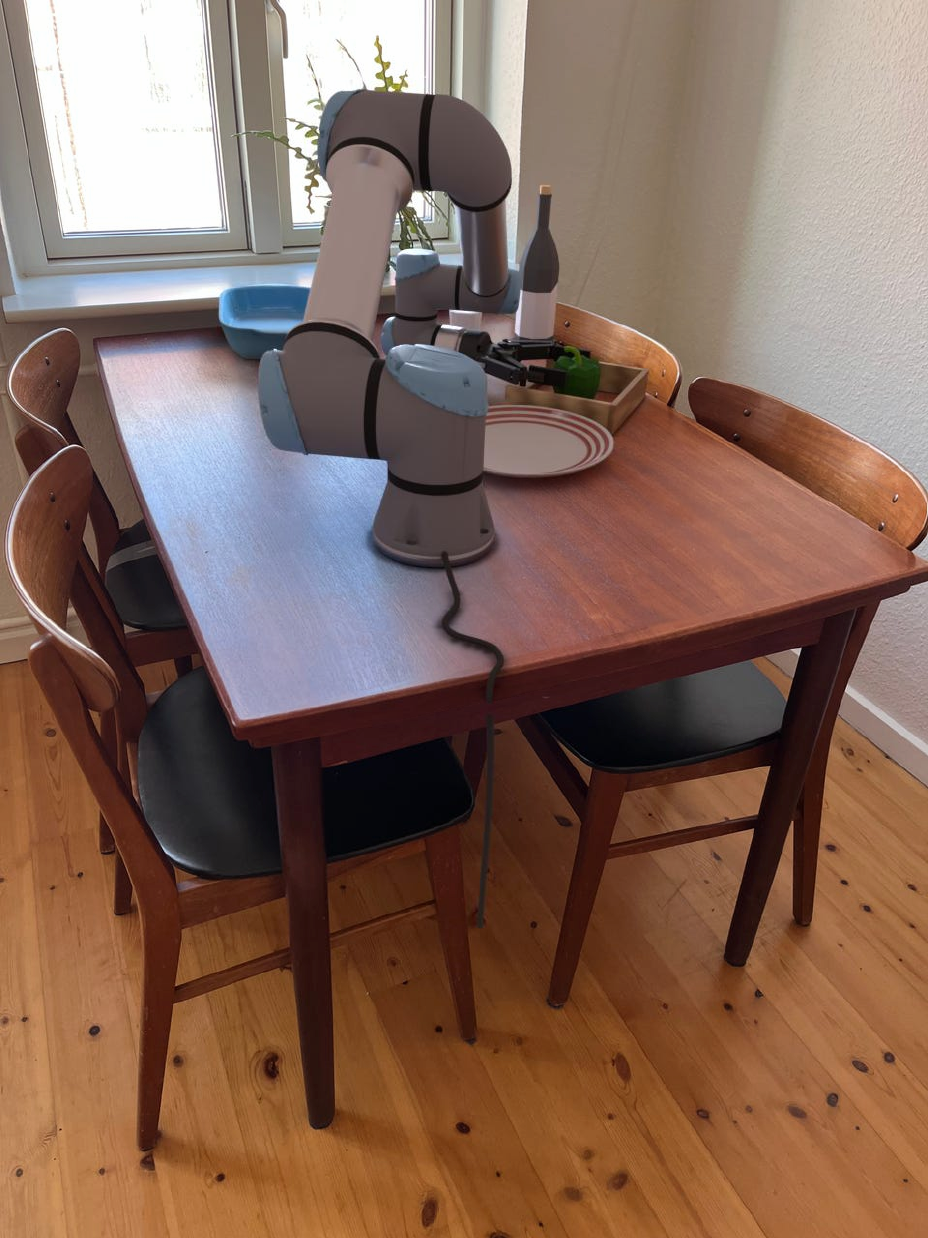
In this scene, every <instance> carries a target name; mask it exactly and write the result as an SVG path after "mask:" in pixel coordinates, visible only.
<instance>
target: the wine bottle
mask: <svg viewBox="0 0 928 1238" xmlns="http://www.w3.org/2000/svg"><path fill="white" fill-rule="evenodd" d="M551 192H552V186H551V185H549V184H540V186H539V192H538V194H537V197H538V200H537V211H536V213H537V214H536V227H535V229H534V230H533V232H532V234H531V236H530V237H529V239H528V240H527V243H525V247H524V249H523V251H522V254H521V258H520V261H519V269H518V271H519V272H520V273H521V292H520V302H519V308H518V310H517V312H515V326H514V340H538V341H553V340H554V331H555V321H556V311H557V299H558V286H559V278H560V277H559V276H560V260H559V254H558V250H557V246H556V243H555V240H554V238H553V236H552V233H551V230H550V218H551V204H552V197H553V194H552V193H551Z"/></svg>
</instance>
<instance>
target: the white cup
mask: <svg viewBox="0 0 928 1238" xmlns="http://www.w3.org/2000/svg"><path fill="white" fill-rule="evenodd" d="M448 315H449V325H450V326H457V327H464V328H466V329H467V330H468V329H475V330H481V326H482V317H483V313H482V312H470V311H458V310H448Z"/></svg>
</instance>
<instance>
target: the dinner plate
mask: <svg viewBox="0 0 928 1238" xmlns="http://www.w3.org/2000/svg"><path fill="white" fill-rule="evenodd" d="M614 445H615V444H614V438H613V435H611V434H610V433H609V432H608V430H607V429H605V428H604V427H603V426H602V425H600V424H598V423H597V422H595V421H593V420H591V419H589V418H586V417H584V416H581V415H578V414H575V413H571V412H567V411H563V410H559V409H553V408H547V407H539V406H529V405H502V404H500V405H489V409H488V413H487V414H486V425H485V446H484V468H483V473H488V474H492V475H496V476H502V477H507V478H516V479H541V478H550V477H559V476H564V475H569V474H570V475H571V474H574V473H578V472H581V471H584V470H587V469H589V468H592V467H594V466H596V465H598V464H600V463H601V462H603V461H604V460H606V459H607V458H608V457H609V456H610V455H611V454H612V451H613V449H614Z"/></svg>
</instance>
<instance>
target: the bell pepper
mask: <svg viewBox="0 0 928 1238" xmlns="http://www.w3.org/2000/svg"><path fill="white" fill-rule="evenodd" d="M576 348H577V347H575V346H570V345H567V346H565V347H564V350H565V352H572V353H573V354H574V355H575V357H574V358H572V359H571V358H569V357H566V356H560V357H559V359H558V360H557V361H556V363H555V365H554V367H553V369H558V370H564V371H567V379H566V387H565V388H560V387H554V386H552V389H553V393H558V394H563V395H569V396H575V397H580V398H586V399H592V400H595V397H596V395H597V392H598V390H597V389H598V387H599V383H600V376H601V368H600V363H599V361H600V360H599V358H598V359H597V358H590V359H588V358H586V357H585V356H583V355H581V356H580V352H579V351H578V350H577V349H576Z"/></svg>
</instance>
